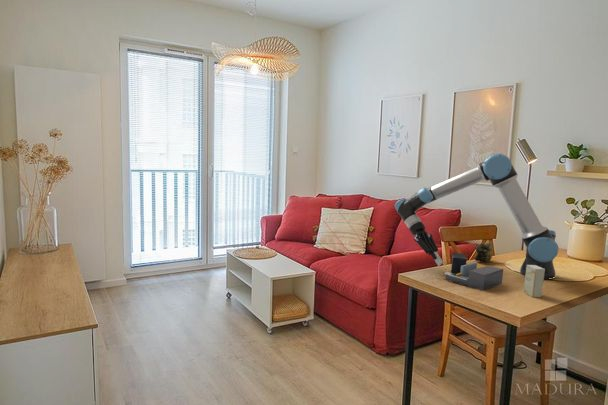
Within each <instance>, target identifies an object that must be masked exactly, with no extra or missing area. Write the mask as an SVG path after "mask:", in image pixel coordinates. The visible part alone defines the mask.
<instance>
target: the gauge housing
mask: <svg viewBox="0 0 608 405" xmlns="http://www.w3.org/2000/svg"><path fill="white" fill-rule="evenodd" d="M444 275H445V281H450V282H453V283H456V284H460V285H462V286H466V287H470V288H473V289H476V290H480V291H486V290H488V289H492V288H495V287H498V286H501V285H503V275H504V268H500V267H496V266H492V265H486V266H481V267H478V268H476V269H474V270H470V271H469V278H468V277H464V276H461V275H458V276H456V274H454V273H451V271H450V272H449V271H446V272H444Z"/></svg>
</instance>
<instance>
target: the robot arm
mask: <svg viewBox="0 0 608 405" xmlns="http://www.w3.org/2000/svg"><path fill="white" fill-rule="evenodd" d="M517 178H518V173H517V171H516V169H515V167H514V165H513V164H512V161H511V159H510V158H509V157H508V156H507V155H505V154H503V153H493V154H490V155H489V156H487V157H486V158H485V160H484V161H482V162H480V163H478V164H477V166H475V167H474V168H472V169H469V170H467V171H465V172H462V173H459V174H458V175H455V176H453V177H450V178H448V179H446V180H444V181H442V182H439V183H437V184H434V185H433V186H430V187H428V188H427V187H422V188H421V189H419V190H418V191H417V192H415V193H414V194H413V195H411V197H409V198H408V199H407V198H401V199H399V200H397V201H396V202H395V204H394V209H395V210H396V212H397V214H398V215H399V216H400V218H401V219H402V221H403V222H404V224H405V225H406V227H407V228H408V230H409V231H410V234H411V235H412V236H414V238H413V241H414V242H415V243H417V245H419V247H420V248H421V249H422V250H423V251H424V253H426V254H427V255H428V256H431V258H432V259H433V260H434V262H435V264H436V265H437V266H438V267H440V266H441V265H443V264H444V261H443V259H442V258H441V256H440V255H439V253H438V251H439V248H438V246H437V244H436V242H435V239H434V238H433V234H431V233H430V234H429V233H428V231H426V230H425V229H426V225H425V224H424V223H423V222H422V220H421V218H420V217H419V215H418V214H417V213H416V212H417V211H419V209H421V208H423V207H424V206H426V205H428V204H431V203H432V202H435V201H436V200H439V199H441V198H444V197H447V196H449V195H451V194H454V193H457V192H458V191H461V190H463V189H466V188H468V187H470V186H473V185H475V184H478V183H480V182H483V181H484V182H489V181H490V183H491V185H492V186H493V187H495V188H497V189H498V190H499V192H500V194H501V196H502V198H503V199H504V202H505V203H506V206H507V207H508V209H509V210H510V213H511V214H512V216H513V218H514V220H515V221H516V223H517V225H518V226H519V229H520V231H521V232H522V235H521V240H522V241H523V243H524V245H525V247H526V250H525V258H524V260H523V262H522V264H521V266H520V270H519V272H520V274H521V275H523V276H525V275H526V267H527V265H537V266H539V267H541V268H543V269H545V273H544V280H550V279H549V278H553V277H555V278H556V270H555V266H554V259H556V257H557V255H558V253H559V245H558V243H557V241H556V237H557V236H556V231H555V230H552V229H549V228H548V226H543V225H542V223H541V221H540V220H539V218H538V216H537V214H536V212H535V211H534V209H533V206H532V205H531V203H530V202H529V200H528V198H527V197H526V195H525V193H524V191H523V189H522V187H521V186H520V184H519V182H518V180H517Z"/></svg>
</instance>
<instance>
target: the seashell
mask: <svg viewBox="0 0 608 405" xmlns="http://www.w3.org/2000/svg"><path fill="white" fill-rule="evenodd" d="M492 246H493V245H492V243H491V242H488V243H479V244H477V245H476V246H475V251H476V256H475V259H474V260H475V262H476V261H477V262H484V263H487V262H490V261H491V259H492V258H493V257H492V253H491V252H492V251H493V249H492Z"/></svg>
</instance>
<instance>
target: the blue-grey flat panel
mask: <svg viewBox="0 0 608 405" xmlns="http://www.w3.org/2000/svg"><path fill="white" fill-rule="evenodd" d="M477 265H478V263H477V262H476V261H474V262H471V263H466V265H462V266H461V272H460V273H458V274H456V276H458V275H461V276H464V277H468V278H469V271H470V270H474V269H477V267H478V266H477Z"/></svg>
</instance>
